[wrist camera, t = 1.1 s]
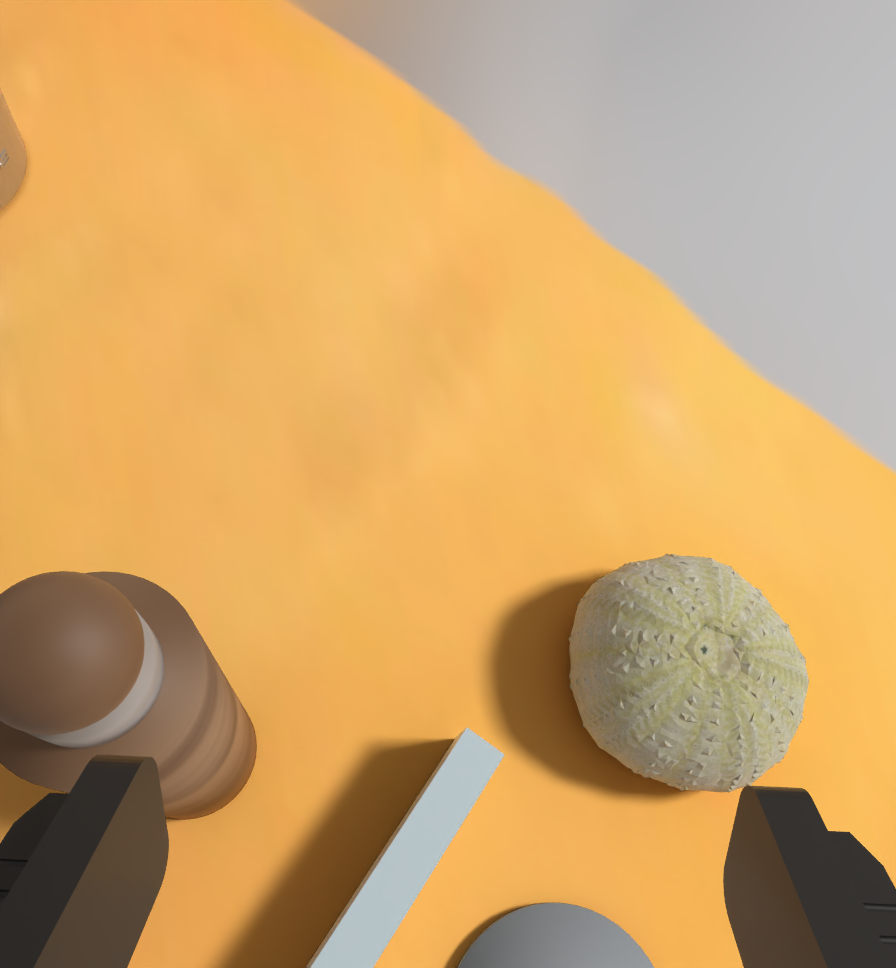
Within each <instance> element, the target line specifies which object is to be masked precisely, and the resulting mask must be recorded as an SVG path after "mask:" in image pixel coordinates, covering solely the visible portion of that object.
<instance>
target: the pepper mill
mask: <svg viewBox="0 0 896 968" xmlns="http://www.w3.org/2000/svg"><path fill="white" fill-rule="evenodd" d="M256 750H257V744H256V735H255V730H254V727H253V724H252V722H251V720H250V717H249V716H248V714H247V712H246V711H245V709H244V707H243V706H242V704H241V702H240V701H239V699H238V697H237V695H236V694H235V692H234V690H233V689H232V687H231V685H230V684H229V682H228V680H227V679H226V677H225V675H224V674H223V672H222V670H221V668H220V667H219V665H218V663H217V662H216V660H215V658H214V657H213V655H212V653H211V652H210V650H209V648H208V647H207V645H206V643H205V641H204V640H203V638H202V636H201V635H200V633H199V631H198V630H197V628H196V626H195V625H194V623H193V621H192V620H191V618H190V616H189V615H188V613H187V612H186V610H185V609H184V608H183V606H182V605H181V604H180V603H179V602H178V601H177V600H176V599H175V598H174V597H173V596H172V595H171V594H169V593H168V592H167V591H166V590H164V589H163V588H161V587H160V586H158V585H156V584H154V583H152V582H150V581H148V580H146V579H144V578H140V577H137V576H134V575H130V574H124V573H119V572H92V573H85V574H84V573H78V572H65V571H62V572H49V573H44V574H39V575H36V576H33V577H30V578H27V579H25V580H23V581H20V582H19V583H17V584H15V585H13V586H11V587H10V588H8V589H7V590H6V591H4V592H3V593H1V594H0V763H1V764H2V765H4V766H5V767H6V768H7V769H8V770H10V771H11V772H13V773H14V774H15V775H17V776H18V777H20V778H22V779H24V780H27V781H29V782H31V783H33V784H37V785H40V786H43V787H46V788H51V789H55V790H59V791H63V792H67V793H70V791H71V790H72V788H73V786H74V785H75V783H76V781H77V780H78V778H79V777H80V775H81V773H82V772H83V770H84V768H85V767H86V765H87V764H88V762H89V761H90V760H91V759H92V758H93V757H94V756H95V755H121V756H143V757H152V758H154V760H155V761H156V764H157V768H158V774H159V780H160V786H161V793H162V799H163V805H164V812H165V816H166V817H170V818H176V819H193V818H199V817H203V816H206V815H209V814H211V813H214V812H216V811H217V810H219V809H221V808H223V807H224V806H225V805H227V804H228V803H229V802H230V801H232V800H233V799H234V798H235V797H236V796H237V795H238V793H239V792H240V791H241V790H242V788H243V787H244V785H245V784H246V782H247V781H248V779H249V777H250V775H251V772H252V769H253V767H254V763H255V758H256Z"/></svg>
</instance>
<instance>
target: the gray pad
mask: <svg viewBox="0 0 896 968" xmlns="http://www.w3.org/2000/svg"><path fill="white" fill-rule="evenodd" d="M457 968H654V967H653V965H652V963H651V961H650V960H649V958H648V957H647V956H646V954H645V953H644V951H643V950H642V949H641V947H640V946H639V945H638V944H637V943H636V942H635V941H634V940H633V938H632V937H631V936H630V935H629V934H628V933H626V932H625V931H624V930H623V929H622V928H621V927H619V926H618V925H617V924H615V923H614V922H612V921H611V920H609V919H608V918H606V917H605V916H603V915H601V914H598V913H596V912H594V911H592V910H590V909H586V908H583V907H580V906H577V905H571V904H565V903H539V904H533V905H529V906H525V907H522V908H519V909H516V910H514V911H512V912H510V913H508V914H506V915H504V916H502V917H501V918H499V919H498V920H496V921H495V922H493V923H492V924H491V925H490V926H489V927H487V928H486V929H485V930H484V931H483V932H482V933H481V934H480V935H479V936H478V937H477V938H476V939H475V941H474V942H473V943H472V944H471V945H470V947H469V948H468V950H467V951H466V953H465V954H464V956H463V957H462V959H461V961H460V963H459V965H458V967H457Z"/></svg>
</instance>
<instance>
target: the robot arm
mask: <svg viewBox="0 0 896 968" xmlns="http://www.w3.org/2000/svg"><path fill="white" fill-rule="evenodd" d="M26 163H27V155H26V151H25V146H24V142H23V140H22V138H21V135H20V133H19V131H18V128H17V126H16V124H15V122H14V119H13V117H12V115H11V112H10V110H9V108H8V105H7V103H6V101H5V98H4V96H3V94H2V91H1V89H0V210H1V209H2V208H3V207H4V206H5V205H7V204H8V203H9V202H10V200H11V199H12V198H13V196H14V195H15V193H16V192H17V191H18V189H19V188H20V186H21V183H22V181H23V178H24V175H25V173H26ZM168 850H169V839H168V831H167V824H166V818H165V812H164V805H163V799H162V793H161V786H160V780H159V774H158V768H157V764H156V761H155V760H154V758H152V757H143V756H121V755H95V756H94V757H93V758H92V759H91V760H90V761H89V762H88V764H87V765H86V767H85V768H84V770H83V772H82V773H81V775H80V777H79V778H78V780H77V781H76V783H75V785H74V786H73V788H72V790H71V791H70V793H69V794H61V793H49V794H48V795H47V796H45V797H44V798H43V799H42V800H41V801H39V802H38V803H37V804H36V805H35V806H33V807H32V808H31V809H30V810H29V811H27V812H26V813H25V814H24V815H23V816H22V817H20V818H19V819H18V820H17V821H16V822H14V824H13V825H12V827H11V828H10V830H9V831H8V833H7V834H6V836H5V837H4V839H3V840H2V842H1V843H0V968H127V967H128V964H129V962H130V960H131V957H132V955H133V952H134V950H135V948H136V945H137V943H138V940H139V938H140V936H141V933H142V931H143V928H144V926H145V924H146V921H147V919H148V916H149V914H150V912H151V909H152V907H153V904H154V902H155V900H156V897H157V895H158V892H159V890H160V887H161V885H162V882H163V878H164V875H165V871H166V866H167V859H168ZM723 882H724V897H725V904H726V909H727V914H728V917H729V921H730V924H731V927H732V931H733V934H734V937H735V940H736V943H737V947H738V950H739V953H740V956H741V959H742V963H743V966H744V968H896V889H895V887H894V885H893V883H892V881H891V879H890V878H889V876H888V874H887V872H886V870H885V868H884V866H883V865H882V864H881V863H880V862H879V861H878V860H877V859H876V858H875V857H874V856H873V855H872V854H871V853H870V852H869V851H868V850H867V849H866V848H865V847H864V846H863V845H862V844H861V843H860V842H859V841H858V840H857V839H856V838H855V837H854V836H853V835H852V834H851V833H850V832H836V831H828V830H827V828H826V826H825V824H824V822H823V820H822V818H821V816H820V814H819V812H818V810H817V808H816V806H815V804H814V802H813V800H812V798H811V796H810V795H809V793H808V792H807V791H806V790H805V789H802V788H787V787H764V786H745V787H744V788H743V790H742V792H741V795H740V799H739V803H738V807H737V812H736V816H735V821H734V825H733V830H732V834H731V838H730V843H729V847H728V852H727V856H726V861H725V866H724V878H723Z"/></svg>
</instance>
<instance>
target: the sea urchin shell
mask: <svg viewBox="0 0 896 968" xmlns="http://www.w3.org/2000/svg"><path fill="white" fill-rule="evenodd" d="M580 601H581V602H579V603H578V608H577V611H576V614H575V620H574V625H573V628H572V632H571V636H570V638H569V639H568V640H569V641H570V646H569V652H570V661H571V671H570V674H569V678H570V680H571V683H570V688H571V690H572V691H573V694H574V699H575V701H576V704H577V707H578V710H579V714H580V716H581V719H582V721H583V727H584V728H586V729H587V731H588V733H589V734H590V735H591V737H592V738H593V739H594V741H595V742H596V744H597V745H598V747H599V748H601V749H603V750H605V751H606V752H607V753H608V754H610V755H612V756H613V757H615V758H616V759H617V760H618V761H620V762H621V763H622V764H623V765H625V766H626V767H627V768H630V769H631V770H632V771H633V773H636V774H641V775H642V776H643V777H644V778H652V779H654V780H659V781H661V782H663V783H665V784H667V785H668V786H673V788H674V787H677V788H678V789H680V790H681V791H683V790H691V791H694V790H701V791H713V792H731V791H733V790H735V789H739V788H742V787H745V786H751V784H752V783H753V782H754V781H756V780H757V779H758V778H760V777H761V776H762V775H763V774H764V773H765V772H766V771H767V770H768V769H770V768H772V767H773V766H774V765H775V763H779V762H780V761H781V759H783V758H784V755H785V754H786V753H787V751H788V747H789V743H790V742H791V740H792V738H793V737H794V735H795V733H796V731H797V728H798V726H799V723H801V720H802V719H803V716H802V712H803V707H804V701H805V697H806V694H807V689H808V683H809V680H808V675H807V670H806V666H805V663H806V659H805V658H804V656H803V655H802V654H801V652H800V651H799V649H798V647H797V645H796V644H795V641H794V638H793V637H792V635H791V633H790V631H789V625H787V624H786V623H784V622H783V620H782V619H781V618H780V616H779V615H778V614H777V613H776V611H775V610H774V609H773V608H772V606H771V605H770V603H769V602H768V600H767V599H766V598H765V596H763V595H762V593H761V590H759V589H757V588H755V587H753V586H752V585H751V584H750V583H748V582H747V581H746V580H745V579H743V578H742V577H741V576H740V575H739V574H738V573H737V572H735V571H734V570H732V567H731V566H727V565H724V564H722V563H719V562H717V561H715V560H713V559H712V558H705V557H694V556H679V555H675V554H671V555H668V554H666V555H664V556H663V557H659V558H655V559H650V560H645V561H638V562H630V563H629V564H624V565H623V566H622V567H619V568H618V569H617V570H615V571H613V572H611V573H609V574H607V575H605V576H604V577H602V578H601V579H598V580H597V581H596V582H595V583H594V584H591V587H590V588H589V589H588V591H587V592H586V593H585V595H584V596H583V598H582V599H581V600H580Z"/></svg>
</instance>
